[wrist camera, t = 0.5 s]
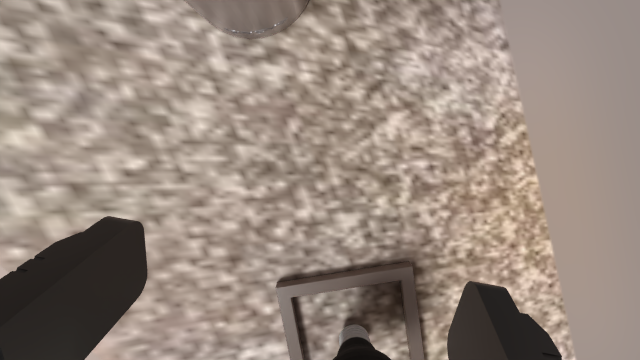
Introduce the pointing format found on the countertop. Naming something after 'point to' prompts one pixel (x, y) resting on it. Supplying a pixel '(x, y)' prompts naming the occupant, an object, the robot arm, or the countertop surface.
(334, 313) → the countertop surface
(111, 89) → the countertop surface
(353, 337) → the light bulb
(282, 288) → the brown square frame
